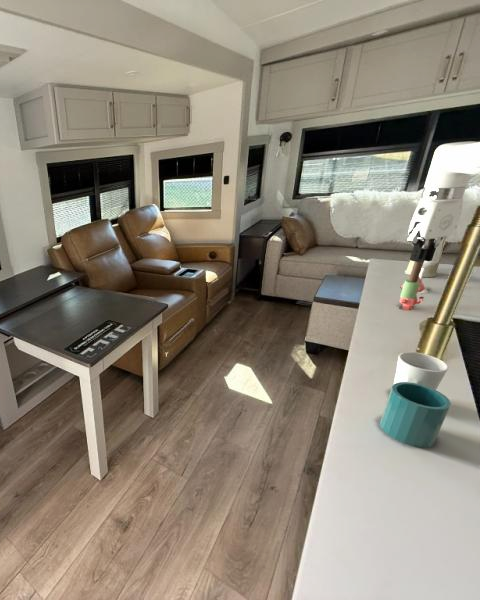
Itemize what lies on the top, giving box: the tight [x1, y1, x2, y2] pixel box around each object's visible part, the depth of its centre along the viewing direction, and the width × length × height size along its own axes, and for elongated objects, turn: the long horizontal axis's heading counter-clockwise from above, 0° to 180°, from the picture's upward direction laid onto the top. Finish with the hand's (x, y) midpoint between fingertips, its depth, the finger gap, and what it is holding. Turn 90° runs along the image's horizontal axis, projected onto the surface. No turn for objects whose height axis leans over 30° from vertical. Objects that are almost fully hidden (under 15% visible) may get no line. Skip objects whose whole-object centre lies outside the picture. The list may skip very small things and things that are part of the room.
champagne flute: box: [418, 238, 444, 294], centre depth 126 cm, size 7×7×24 cm
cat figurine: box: [398, 277, 426, 311], centre depth 116 cm, size 7×7×12 cm
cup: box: [392, 351, 449, 391], centre depth 75 cm, size 8×8×12 cm
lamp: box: [404, 236, 448, 278], centre depth 138 cm, size 10×13×30 cm
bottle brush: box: [399, 241, 430, 299], centre depth 92 cm, size 3×3×17 cm
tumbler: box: [379, 382, 452, 448], centre depth 67 cm, size 8×8×11 cm
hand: (420, 260), depth 90 cm, fingers closed on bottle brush
